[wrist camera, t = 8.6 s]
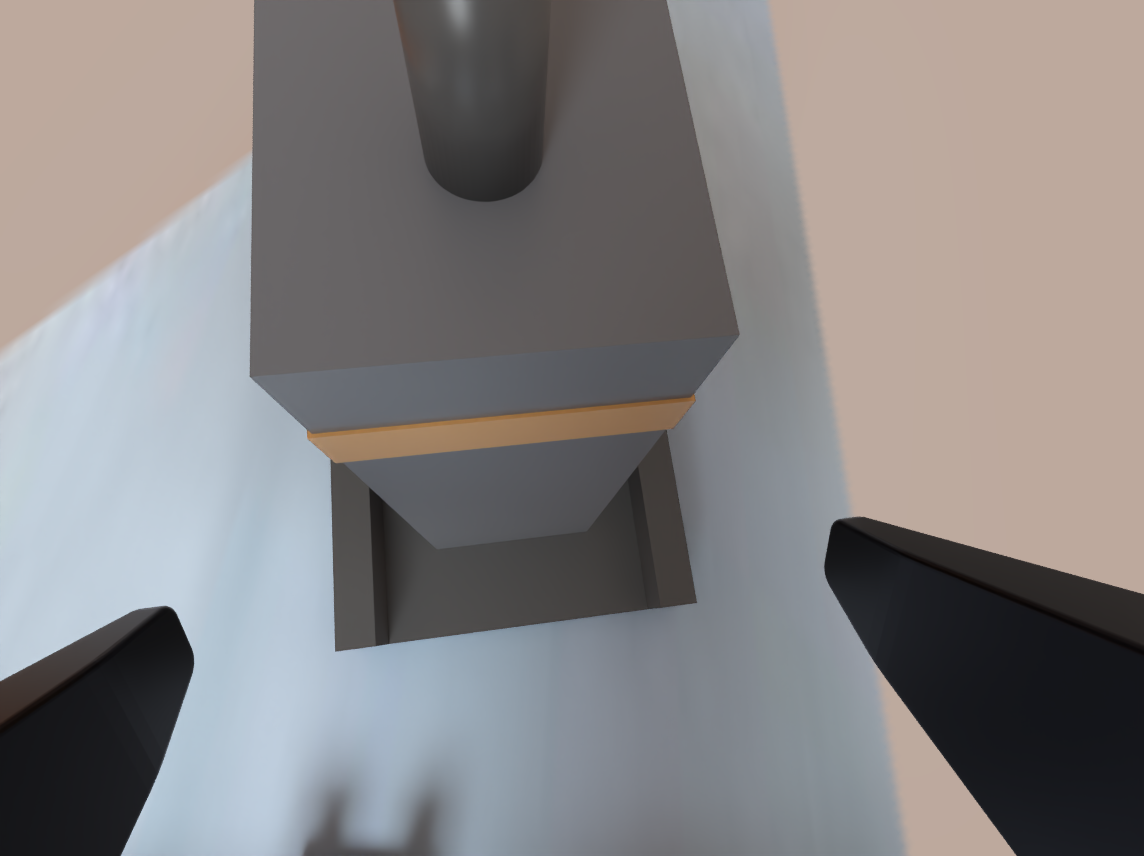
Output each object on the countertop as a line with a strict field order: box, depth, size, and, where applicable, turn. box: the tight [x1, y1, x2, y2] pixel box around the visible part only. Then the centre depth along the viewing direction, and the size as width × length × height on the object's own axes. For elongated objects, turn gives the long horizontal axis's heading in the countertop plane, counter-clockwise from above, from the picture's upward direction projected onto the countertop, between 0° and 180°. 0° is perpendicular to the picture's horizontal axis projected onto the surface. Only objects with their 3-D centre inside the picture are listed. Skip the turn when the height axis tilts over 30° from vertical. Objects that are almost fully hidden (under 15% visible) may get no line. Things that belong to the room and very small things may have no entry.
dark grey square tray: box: [331, 430, 697, 651], centre depth 19 cm, size 10×10×2 cm
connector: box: [250, 0, 739, 549], centre depth 12 cm, size 5×5×16 cm
